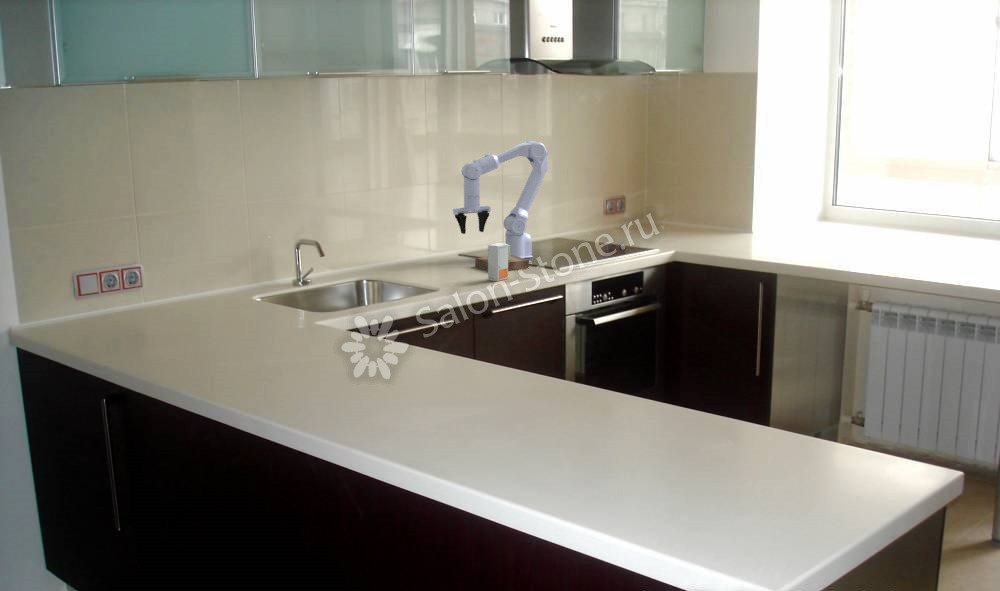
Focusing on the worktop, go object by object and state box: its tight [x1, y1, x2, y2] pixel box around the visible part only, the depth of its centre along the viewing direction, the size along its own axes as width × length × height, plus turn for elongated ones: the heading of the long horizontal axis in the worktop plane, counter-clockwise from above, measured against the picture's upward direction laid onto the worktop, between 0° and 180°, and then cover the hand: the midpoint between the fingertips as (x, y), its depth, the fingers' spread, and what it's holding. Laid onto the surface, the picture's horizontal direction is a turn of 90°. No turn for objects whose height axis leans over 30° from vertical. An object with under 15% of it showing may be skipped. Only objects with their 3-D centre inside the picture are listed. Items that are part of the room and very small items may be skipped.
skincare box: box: [487, 242, 509, 282], centre depth 334 cm, size 6×4×12 cm
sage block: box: [508, 245, 511, 260], centre depth 355 cm, size 4×4×5 cm
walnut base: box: [474, 255, 530, 272], centre depth 356 cm, size 14×14×3 cm
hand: (472, 232), depth 368 cm, fingers open, 7 cm apart
